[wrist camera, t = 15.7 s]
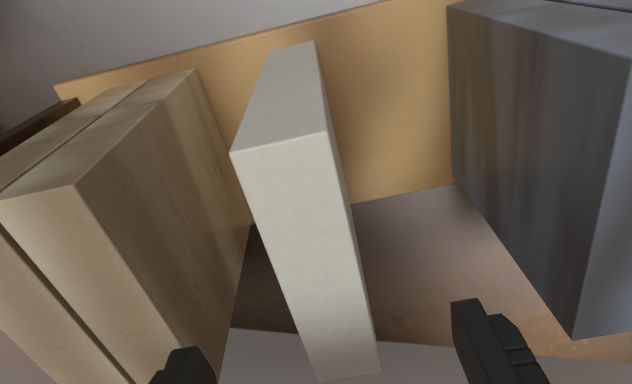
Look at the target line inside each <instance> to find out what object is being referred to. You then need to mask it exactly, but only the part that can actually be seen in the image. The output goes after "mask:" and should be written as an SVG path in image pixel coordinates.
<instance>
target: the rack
mask: <svg viewBox="0 0 632 384" xmlns="http://www.w3.org/2000/svg"><path fill="white" fill-rule="evenodd" d="M312 40H314V41H315V44H316V49H317V53H318V58H319V63H320V67H321V72H322V76H323V81H324V86H325V90H326V95H327V99H328V104H329V109H330V113H331V118H332V123H333V127H334V132H335V136H336V141H337V146H338V150H339V155H340V159H341V164H342V169H343V173H344V178H345V183H346V187H347V192H348V197H349V202H350V205H351V204H356V203H361V202H366V201H371V200H376V199H381V198H386V197H390V196H395V195H400V194H405V193H410V192H415V191H420V190H425V189H430V188H435V187H440V186H444V185H449V184H454V183H460V185H461V186H462V188H463V189H464V190H465V192H466V193H467V195H468V196H469V197H470V199H471V200H472V202H473V203H474V204H475V206H476V207H477V209H478V210H479V211H480V213H481V214H482V216H483V217H484V218H485V220H486V221H487V223H488V224H489V225H490V227H491V228H492V230H493V231H494V232H495V234H496V235H497V237H498V238H499V239H500V241H501V242H502V244H503V245H504V246H505V248H506V249H507V251H508V252H509V253H510V255H511V256H512V258H513V259H514V260H515V262H516V263H517V265H518V266H519V267H520V269H521V270H522V272H523V273H524V274H525V276H526V277H527V279H528V280H529V281H530V283H531V284H532V286H533V287H534V288H535V290H536V291H537V293H538V294H539V295H540V297H541V298H542V300H543V301H544V302H545V304H546V305H547V307H548V308H549V310H550V311H551V312H552V314H553V315H554V317H555V318H556V319H557V321H558V322H559V324H560V325H561V326H562V328H563V329H564V331H565V332H566V333H567V335H568V336H569V338H570V339H571V340H573V341H574V340H580V339H586V338H592V337H599V336H605V335H611V334H617V333H624V332H630V331H632V0H382V1H378V2H374V3H370V4H366V5H362V6H358V7H354V8H350V9H346V10H342V11H339V12H335V13H331V14H327V15H323V16H319V17H315V18H311V19H307V20H303V21H299V22H295V23H291V24H287V25H283V26H279V27H275V28H271V29H268V30H264V31H260V32H256V33H252V34H248V35H244V36H240V37H236V38H232V39H228V40H224V41H220V42H216V43H212V44H208V45H204V46H200V47H197V48H193V49H189V50H185V51H181V52H177V53H173V54H169V55H165V56H161V57H157V58H153V59H149V60H145V61H141V62H137V63H133V64H129V65H126V66H122V67H118V68H114V69H110V70H106V71H102V72H98V73H94V74H90V75H86V76H82V77H78V78H74V79H70V80H66V81H63V82H60V83H58V84H56V85H54V86H53V88H54V89H55V91H56V93H57V94H58V96H59V98H60V99H61V101H60V102H58V103H56V104H55V105H53V106H51V107H49V108H47V109H46V110H44V111H42V112H40V113H39V114H37V115H35V116H33V117H31V118H30V119H28V120H26V121H24V122H23V123H21V124H19V125H17V126H15V127H14V128H12V129H10V130H8V131H6V132H5V133H3V134H1V135H0V329H1V330H2V331H3V332H5V334H7V336H9V337H10V338H11V339H12V340H13V341H14V342H15V343H16V344H17V345H18V346H19V347H20V348H21V349H22V350H23V351H24V352H25V353H26V354H27V355H28V356H29V357H31V359H33V360H34V361H35V362H36V363H37V364H38V365H39V366H40V367H41V368H42V369H43V370H44V371H45V372H46V373H47V374H48V375H49V376H50V377H51V378H53V380H54V381H55V382H56V383H58V384H148V383H149V382H150V380H151V379H152V377H153V376H154V375H155V373H156V372H157V371H158V370H164V368H165V365H166V362H167V359H168V356H169V354H170V352H171V351H172V350H174V349H179V348H185V347H191V346H198V347H199V348H200V349H201V351H202V353H203V354H204V356H205V357H206V359H207V361H208V362H209V364H210V365H211V367H212V369H213V370H214V372H215V375H216V379H217V384H218V381H219V377H220V372H221V367H222V362H223V357H224V352H225V347H226V342H227V337H228V333H229V328H230V323H231V318H232V313H233V308H234V303H235V298H236V293H237V289H238V284H239V279H240V274H241V269H242V264H243V259H244V254H245V249H246V245H247V240H248V235H249V230H250V225H253V224H256V223H255V220H254V218H253V215H252V213H251V210H250V208H249V205H248V202H247V200H246V197H245V195H244V192H243V190H242V187H241V185H240V182H239V180H238V177H237V174H236V172H235V169H234V167H233V164H232V162H231V159H230V157H229V151H230V149H231V146H232V144H233V141H234V139H235V136H236V134H237V131H238V129H239V126H240V124H241V121H242V119H243V116H244V114H245V111H246V109H247V106H248V104H249V101H250V98H251V96H252V93H253V91H254V88H255V86H256V83H257V81H258V78H259V76H260V73H261V71H262V68H263V66H264V63H265V61H266V58H267V56H268V53H269V51H272V50H276V49H280V48H284V47H288V46H292V45H296V44H300V43H304V42H308V41H312Z"/></svg>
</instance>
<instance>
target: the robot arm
mask: <svg viewBox="0 0 632 384" xmlns="http://www.w3.org/2000/svg"><path fill="white" fill-rule="evenodd" d="M451 321H452V336H453V341H454V345H455V348H456V351H457V354H458V357H459V359H460V362H461V364H462V367H463V370H464V372H465V374H466V377H467V380H468V382H469V384H550V382H549V380H548V379H547V377H546V375H545V374H544V372H543V370H542V369H541V367H540V365H539V364H538V363H537V361H536V358H535V357H534V355H533V353H532V352H531V350H530V348H528V345H527V343H526V341H525V340H524V338H523V336H522V335H521V333H520V331H519V330H518V328H517V327H516V326H515V325H514V324H513V323H512V322H510V321H509V320H508V319H507V318H506V317H505V316H503V315H502V314H501V313H500V314H494V315H489V316H487V314H486V312H485V310H484V308H483V307H482V305H481V303H480V301H479V300H478V299H477V298H472V299H466V300H460V301H455V302H451ZM148 384H217V379H216V375H215V372H214V370H213V369H212V367H211V365H210V364H209V362H208V361H207V359H206V357H205V356H204V354H203V353H202V351H201V349H200V348H199V347H198V346H191V347H185V348H179V349H174V350H172V351H171V352H170V354H169V356H168V359H167V362H166V365H165V368H164V370H158V371H157V372H156V373H155V375H154V376H153V377H152V379H151V380H150V382H149V383H148Z"/></svg>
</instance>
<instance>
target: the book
mask: <svg viewBox="0 0 632 384" xmlns="http://www.w3.org/2000/svg"><path fill="white" fill-rule="evenodd" d="M229 157H230V159H231V162H232V164H233V167H234V169H235V172H236V174H237V177H238V180H239V182H240V185H241V187H242V190H243V192H244V195H245V197H246V200H247V202H248V205H249V208H250V210H251V213H252V215H253V218H254V220H255V223H256V225H257V228H258V230H259V233H260V236H261V238H262V241H263V243H264V246H265V248H266V251H267V253H268V256H269V258H270V261H271V264H272V266H273V269H274V271H275V274H276V276H277V279H278V281H279V284H280V286H281V289H282V292H283V294H284V297H285V299H286V302H287V304H288V307H289V309H290V312H291V314H292V317H293V320H294V322H295V325H296V327H297V330H298V332H299V335H300V337H301V340H302V342H303V345H304V347H305V350H306V353H307V355H308V358H309V360H310V363H311V365H312V368H313V370H314V373H315V375H316V378H317V381H318V382H325V381H331V380H337V379H343V378H350V377H356V376H363V375H369V374H375V373H381V372H382V367H381V362H380V358H379V352H378V346H377V341H376V336H375V331H374V326H373V321H372V315H371V310H370V305H369V300H368V295H367V290H366V284H365V279H364V274H363V269H362V264H361V259H360V253H359V248H358V243H357V238H356V233H355V228H354V222H353V217H352V212H351V207H350V202H349V197H348V192H347V187H346V183H345V178H344V173H343V169H342V164H341V159H340V155H339V150H338V146H337V141H336V136H335V132H334V127H333V123H332V118H331V113H330V109H329V104H328V99H327V95H326V90H325V86H324V81H323V76H322V72H321V67H320V63H319V58H318V53H317V49H316V44H315V41H314V40H312V41H308V42H304V43H300V44H296V45H292V46H288V47H284V48H280V49H276V50H272V51H269V53H268V56H267V58H266V61H265V63H264V66H263V68H262V71H261V73H260V76H259V78H258V81H257V83H256V86H255V88H254V91H253V93H252V96H251V98H250V101H249V104H248V106H247V109H246V111H245V114H244V116H243V119H242V121H241V124H240V126H239V129H238V131H237V134H236V136H235V139H234V141H233V144H232V146H231V149H230V151H229Z"/></svg>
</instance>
